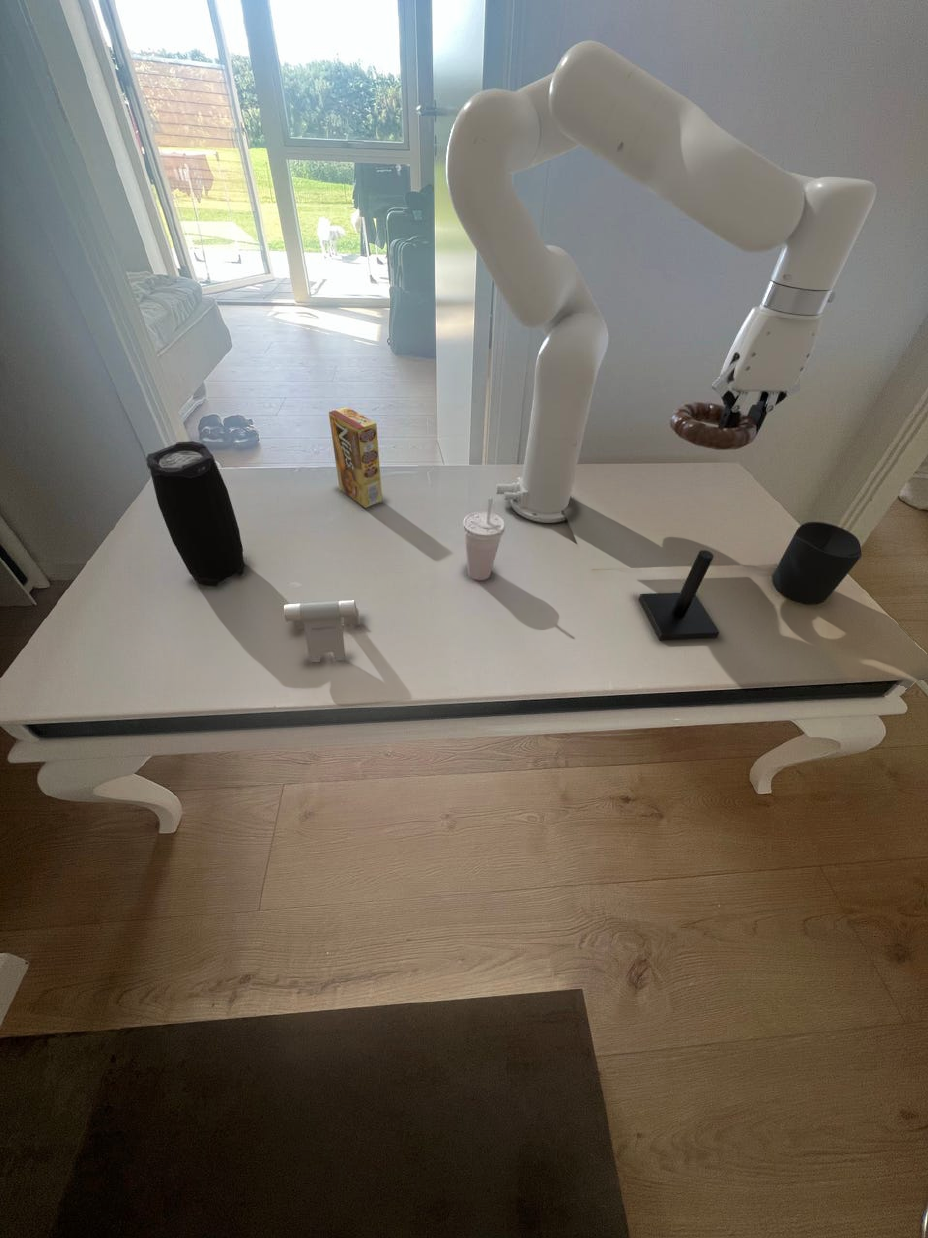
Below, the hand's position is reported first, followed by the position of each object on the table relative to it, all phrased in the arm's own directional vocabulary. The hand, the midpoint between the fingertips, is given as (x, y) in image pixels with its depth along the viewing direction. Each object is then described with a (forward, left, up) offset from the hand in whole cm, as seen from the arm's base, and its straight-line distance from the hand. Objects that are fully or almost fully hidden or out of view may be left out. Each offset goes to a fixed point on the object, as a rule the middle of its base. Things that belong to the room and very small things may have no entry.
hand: (736, 433), depth 81 cm
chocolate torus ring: (-5, 0, +1) cm, 5 cm away
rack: (-11, -20, -20) cm, 31 cm away
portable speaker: (-81, -6, -20) cm, 84 cm away
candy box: (-60, +16, -20) cm, 65 cm away
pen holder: (+13, -14, -20) cm, 28 cm away
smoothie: (-40, -8, -20) cm, 46 cm away
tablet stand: (-63, -22, -20) cm, 70 cm away
